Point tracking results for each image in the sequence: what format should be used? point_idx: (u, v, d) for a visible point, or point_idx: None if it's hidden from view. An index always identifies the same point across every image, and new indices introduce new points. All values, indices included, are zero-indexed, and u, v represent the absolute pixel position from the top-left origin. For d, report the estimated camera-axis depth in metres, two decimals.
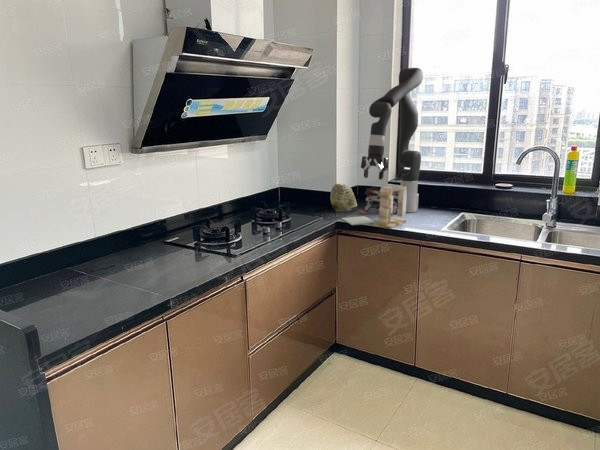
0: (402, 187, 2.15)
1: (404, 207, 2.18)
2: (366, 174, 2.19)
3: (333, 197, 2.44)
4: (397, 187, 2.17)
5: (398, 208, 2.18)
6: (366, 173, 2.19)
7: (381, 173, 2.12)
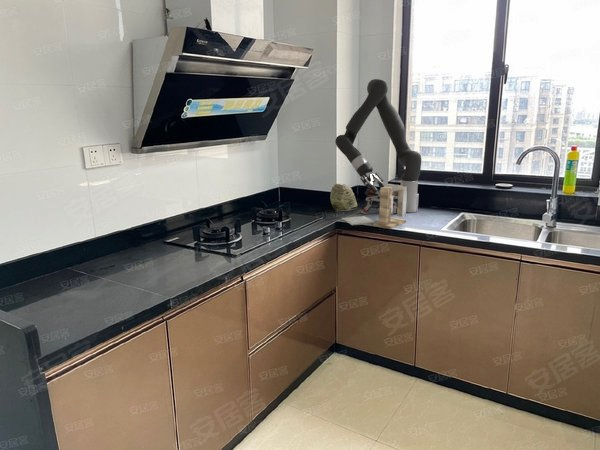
0: (402, 187, 2.15)
1: (404, 207, 2.18)
2: None
3: (333, 197, 2.44)
4: (397, 187, 2.17)
5: (398, 208, 2.18)
6: None
7: (371, 188, 2.22)
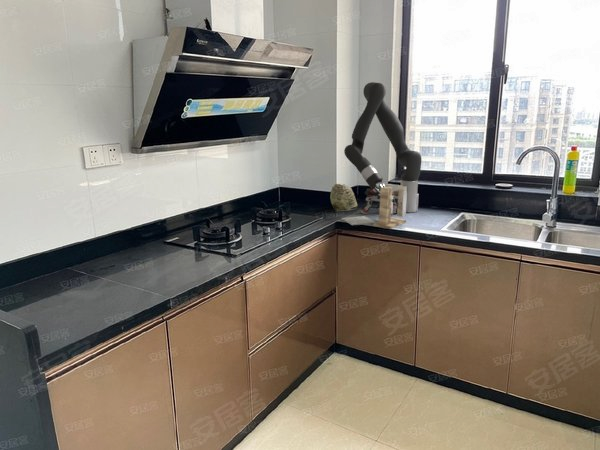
0: (402, 187, 2.15)
1: (404, 207, 2.18)
2: None
3: (333, 197, 2.44)
4: (397, 187, 2.17)
5: (398, 208, 2.18)
6: None
7: None
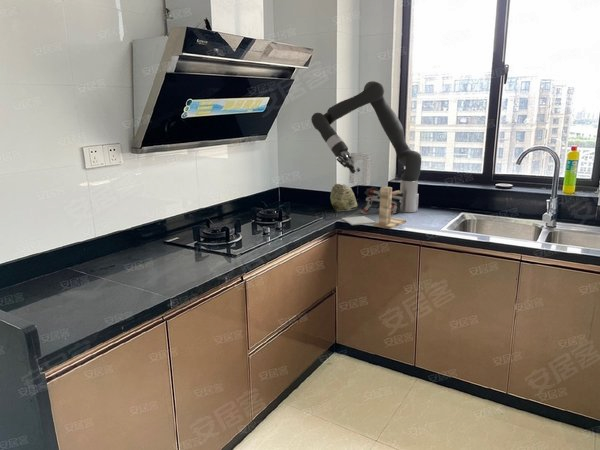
0: (366, 155, 2.14)
1: (368, 175, 2.17)
2: None
3: (333, 197, 2.44)
4: (361, 155, 2.15)
5: (362, 176, 2.17)
6: None
7: (349, 168, 2.19)
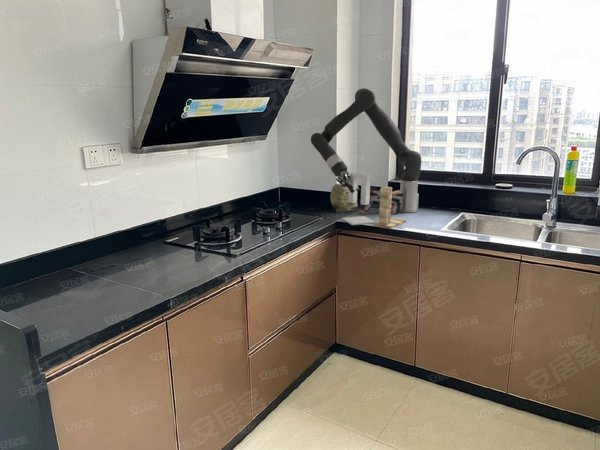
0: (365, 175, 2.16)
1: (367, 195, 2.19)
2: None
3: (334, 197, 2.44)
4: (360, 175, 2.18)
5: (361, 196, 2.19)
6: None
7: (348, 188, 2.22)
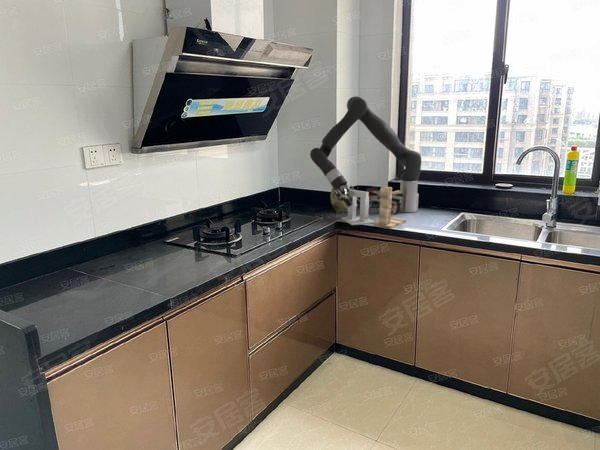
0: (364, 193, 2.19)
1: (366, 212, 2.22)
2: None
3: (334, 197, 2.44)
4: (359, 193, 2.20)
5: (360, 213, 2.22)
6: None
7: (345, 202, 2.23)
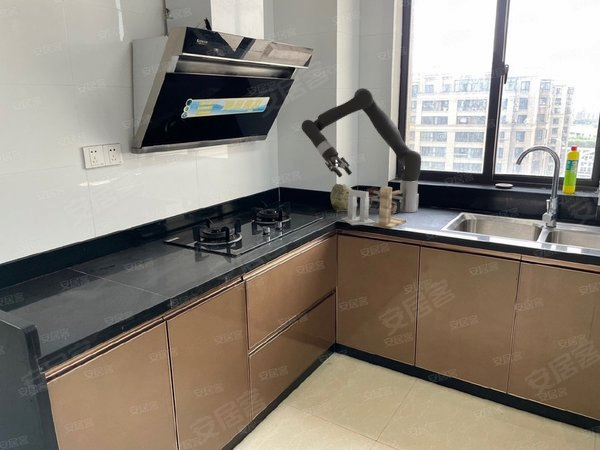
0: (364, 193, 2.19)
1: (366, 212, 2.22)
2: (347, 172, 2.29)
3: (334, 197, 2.44)
4: (359, 193, 2.20)
5: (360, 213, 2.22)
6: (347, 171, 2.29)
7: (336, 173, 2.23)
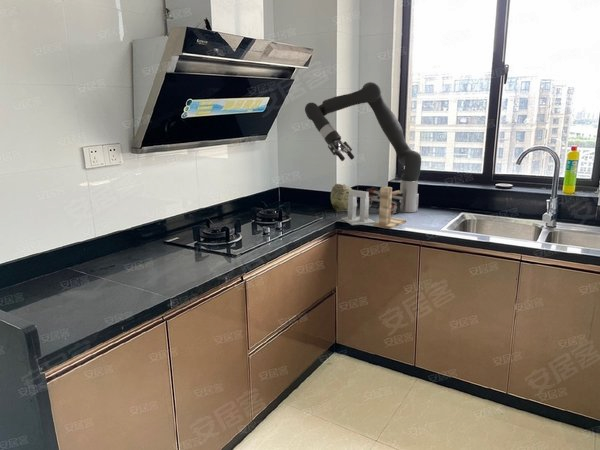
0: (364, 193, 2.19)
1: (366, 212, 2.22)
2: (350, 156, 2.27)
3: (334, 197, 2.44)
4: (359, 193, 2.20)
5: (360, 213, 2.22)
6: (349, 155, 2.27)
7: (338, 156, 2.20)
